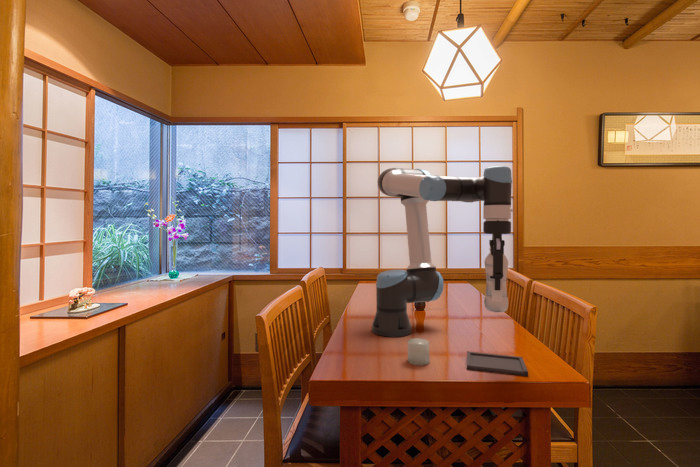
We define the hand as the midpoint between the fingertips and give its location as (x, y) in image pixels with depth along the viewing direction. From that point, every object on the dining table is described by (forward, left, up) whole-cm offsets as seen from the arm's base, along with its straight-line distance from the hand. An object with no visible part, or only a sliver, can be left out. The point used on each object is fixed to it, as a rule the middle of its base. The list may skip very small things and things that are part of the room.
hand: (496, 298), depth 110 cm
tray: (0, 0, -20) cm, 20 cm away
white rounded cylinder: (-22, -4, -20) cm, 30 cm away
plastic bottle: (0, 0, -4) cm, 4 cm away
